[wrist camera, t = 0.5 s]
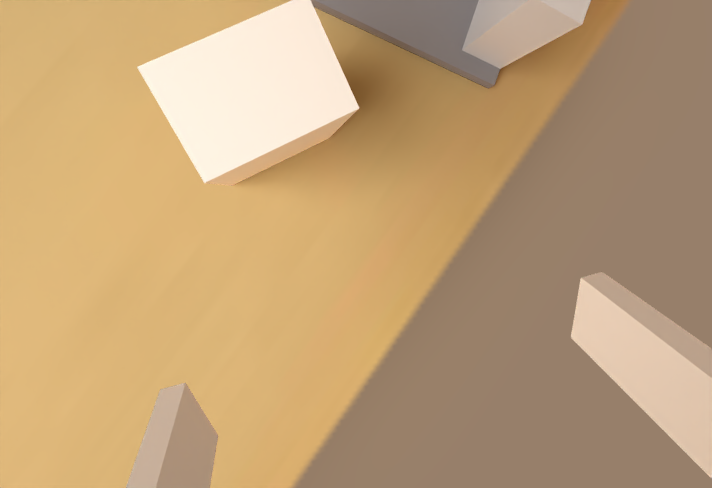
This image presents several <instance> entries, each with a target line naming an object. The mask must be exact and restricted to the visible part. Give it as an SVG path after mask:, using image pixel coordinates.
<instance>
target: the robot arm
mask: <svg viewBox="0 0 712 488" xmlns="http://www.w3.org/2000/svg"><path fill="white" fill-rule="evenodd" d="M571 338H572V339H573V340H574V341H575V342H576V343H577V344H578V345H579V346H580V347H581V348H582V349H583V350H584V351H585V352H586V353H587V354H588V355H589V356H590V357H591V358H592V359H593V360H594V361H595V362H596V363H597V364H598V365H599V366H600V367H601V368H602V369H603V370H604V371H605V372H606V373H607V374H608V375H609V376H610V377H611V378H612V379H613V380H614V381H615V382H616V383H617V384H618V385H619V386H620V387H621V388H622V389H623V390H624V391H625V392H626V393H627V394H628V395H629V396H630V397H631V398H632V399H633V400H634V401H635V402H636V403H637V404H638V405H639V406H640V407H641V408H642V409H643V410H644V411H645V412H646V413H647V414H648V415H649V416H650V417H651V418H652V419H653V420H654V421H655V422H656V423H657V424H658V425H659V426H660V427H661V428H662V429H663V430H664V431H665V432H666V433H667V434H668V435H669V436H670V437H671V438H672V439H673V440H674V441H675V442H676V443H677V444H678V445H679V446H680V447H681V448H682V449H683V450H684V451H685V452H686V453H687V454H688V455H689V456H690V457H691V458H692V459H693V460H694V461H695V462H696V463H697V464H698V465H699V466H700V467H701V468H702V469H703V470H704V471H705V472H706V473H707V474H708V475H709V476H710V477H711V478H712V349H711V348H710V347H708V346H707V345H705V344H704V343H703V342H701V341H700V340H698V339H697V338H696V337H694V336H693V335H691V334H689V332H687V331H686V330H684V329H683V328H681V327H680V326H678V325H677V324H676V323H674V322H673V321H671V320H670V319H668V318H667V317H666V316H664V315H663V314H661V313H660V312H659V311H657V310H656V309H654V308H653V307H651V306H650V305H649V304H647V303H646V302H644V301H643V300H641V299H640V298H639V297H637V296H636V295H634V294H633V293H632V292H630V291H629V290H627V289H626V288H624V287H623V286H621V285H620V284H619V283H617V282H616V281H614V280H613V279H612V278H610V277H608V276H607V275H606V274H604V273H603V272H600V273H597V274H593V275H589V276H585V277H582V278H581V281H580V287H579V292H578V298H577V304H576V311H575V316H574V322H573V329H572V334H571ZM217 439H218V435H217V433H216V431H215V430H214V428H213V426H212V425H211V423H210V422H209V420H208V418H207V417H206V415H205V414H204V412H203V410H202V409H201V407H200V405H199V404H198V402H197V401H196V399H195V397H194V396H193V394H192V393H191V391H190V389H189V388H188V386H187V384H186V383H183V384H179V385H175V386H171V387H168V388H164V389H160V392H159V395H158V398H157V400H156V403H155V406H154V409H153V412H152V415H151V417H150V420H149V423H148V426H147V429H146V432H145V435H144V437H143V440H142V443H141V446H140V449H139V452H138V455H137V457H136V460H135V463H134V466H133V469H132V472H131V475H130V477H129V480H128V483H127V486H126V488H210V483H211V476H212V470H213V464H214V458H215V451H216V445H217Z"/></svg>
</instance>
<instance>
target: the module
mask: <svg viewBox="0 0 712 488" xmlns="http://www.w3.org/2000/svg"><path fill="white" fill-rule="evenodd" d="M590 2H591V0H479V1H478V4H477V7H476V10H475V13H474V16H473V19H472V22H471V25H470V28H469V30H468V33H467V36H466V39H465V42H464V45H463V48H462V50H463V51H465V52H467V53H469V54H471V55H473V56H475V57H477V58H479V59H481V60H483V61H485V62H487V63H489V64H491V65H493V66H495V67H497V68H499V69H501V68H503V67H505V66H506V65H508V64H510V63H512V62H514V61H516V60H517V59H519V58H521V57H523V56H525V55H527V54H529V53H530V52H532V51H534V50H536V49H538V48H540V47H541V46H543V45H545V44H547V43H549V42H551V41H553V40H554V39H556V38H558V37H560V36H562V35H564V34H566V33H567V32H569V31H571V30H573V29H575V28H577V27H578V26H580V25H582V24H583V21H584V18H585V16H586V13H587V10H588V7H589V4H590Z"/></svg>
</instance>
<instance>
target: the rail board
mask: <svg viewBox="0 0 712 488" xmlns="http://www.w3.org/2000/svg"><path fill="white" fill-rule="evenodd" d="M478 1H479V0H311V2H312V4H313V7H316V8H318V9H320V10H322V11H324V12H326V13H328V14H330V15H333V16H335V17H337V18H339V19H341V20H343V21H345V22H348V23H350V24H352V25H354V26H356V27H358V28H360V29H362V30H365V31H367V32H369V33H371V34H373V35H375V36H377V37H380V38H382V39H384V40H386V41H388V42H390V43H392V44H395V45H397V46H399V47H401V48H403V49H405V50H407V51H409V52H412V53H414V54H416V55H418V56H420V57H422V58H424V59H427V60H429V61H431V62H433V63H435V64H437V65H439V66H441V67H444V68H446V69H448V70H450V71H452V72H454V73H456V74H459V75H461V76H463V77H465V78H467V79H469V80H471V81H474V82H476V83H478V84H480V85H482V86H484V87H486V88H490V87H492V86H494V85H495V82H496V79H497V77H498V74H499V71H500V69H499V68H497V67H495V66H493V65H491V64H489V63H487V62H485V61H483V60H481V59H479V58H477V57H475V56H473V55H471V54H469V53H467V52H465V51H463V50H462V48H463V45H464V42H465V39H466V36H467V33H468V30H469V28H470V25H471V22H472V19H473V16H474V13H475V10H476V7H477V4H478Z"/></svg>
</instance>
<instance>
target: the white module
mask: <svg viewBox="0 0 712 488" xmlns="http://www.w3.org/2000/svg"><path fill="white" fill-rule="evenodd" d="M137 68H138V69H139V71H140V73H141V75H142V76H143V78H144V80H145V81H146V83H147V85H148V87H149V88H150V90H151V92H152V93H153V95H154V97H155V99H156V100H157V102H158V104H159V106H160V107H161V109H162V111H163V112H164V114H165V116H166V118H167V119H168V121H169V123H170V125H171V126H172V128H173V130H174V131H175V133H176V135H177V137H178V138H179V140H180V142H181V143H182V145H183V147H184V149H185V150H186V152H187V154H188V156H189V157H190V159H191V161H192V162H193V164H194V166H195V168H196V169H197V171H198V173H199V174H200V176H201V178H202V180H203V181H204V183H210V184H220V185H231V186H233V185H235V184H237V183H239V182H241V181H243V180H245V179H247V178H249V177H251V176H253V175H255V174H257V173H259V172H261V171H263V170H265V169H267V168H269V167H271V166H274V165H276V164H278V163H280V162H282V161H284V160H286V159H288V158H290V157H292V156H294V155H296V154H298V153H300V152H302V151H304V150H306V149H308V148H310V147H312V146H314V145H317V144H319V143H321V142H323V141H325V140H327V139H329V138H330V137H331V136H332V135H333V134H334V133H335V132H336V131H337V130H338V129H339V128H340V127H341V126H342V125H343V124H344V123H345V122H346V121H347V120H348V119H349V118H350V117H351V116H352V115H353V114H354V113H355V112H356V111H357V110H358V109H359V106H358V104H357V102H356V100H355V97H354V95H353V93H352V91H351V89H350V86H349V84H348V82H347V80H346V77H345V75H344V73H343V71H342V69H341V66H340V64H339V62H338V60H337V58H336V55H335V53H334V51H333V49H332V46H331V44H330V42H329V40H328V38H327V35H326V33H325V31H324V29H323V27H322V24H321V22H320V20H319V18H318V15H317V13H316V11H315V9H314V7H313V4H312V2H311V0H292V1H290V2H287V3H285V4H283V5H280V6H278V7H276V8H273V9H271V10H269V11H266V12H264V13H262V14H259V15H257V16H255V17H252V18H250V19H248V20H245V21H243V22H241V23H238V24H236V25H234V26H231V27H229V28H227V29H224V30H222V31H220V32H217V33H215V34H213V35H210V36H208V37H206V38H203V39H201V40H199V41H196V42H194V43H192V44H189V45H187V46H185V47H182V48H180V49H178V50H175V51H173V52H171V53H169V54H166V55H164V56H162V57H159V58H157V59H155V60H152V61H150V62H148V63H145V64H143V65H141V66H138V67H137Z"/></svg>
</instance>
